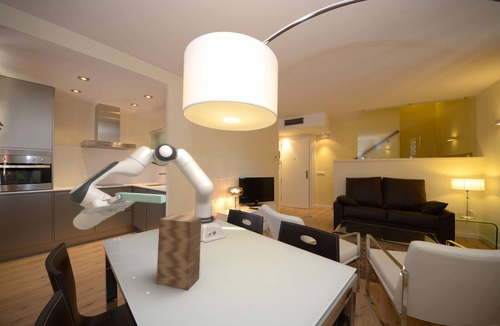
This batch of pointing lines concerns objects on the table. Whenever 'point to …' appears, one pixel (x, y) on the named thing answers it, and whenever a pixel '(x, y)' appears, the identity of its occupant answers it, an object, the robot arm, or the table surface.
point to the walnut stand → (179, 251)
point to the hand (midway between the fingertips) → (125, 195)
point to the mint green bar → (142, 197)
